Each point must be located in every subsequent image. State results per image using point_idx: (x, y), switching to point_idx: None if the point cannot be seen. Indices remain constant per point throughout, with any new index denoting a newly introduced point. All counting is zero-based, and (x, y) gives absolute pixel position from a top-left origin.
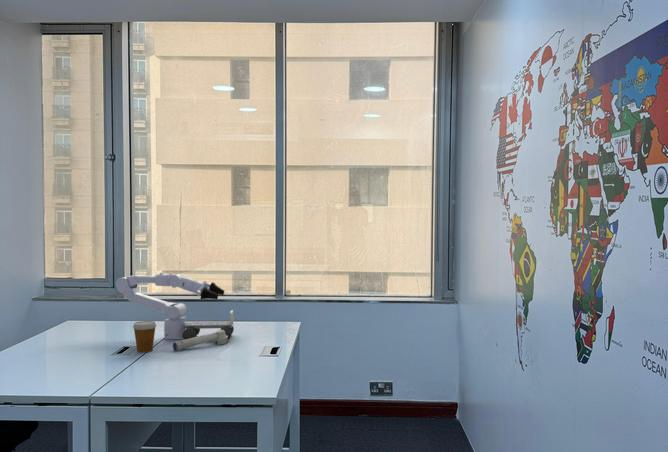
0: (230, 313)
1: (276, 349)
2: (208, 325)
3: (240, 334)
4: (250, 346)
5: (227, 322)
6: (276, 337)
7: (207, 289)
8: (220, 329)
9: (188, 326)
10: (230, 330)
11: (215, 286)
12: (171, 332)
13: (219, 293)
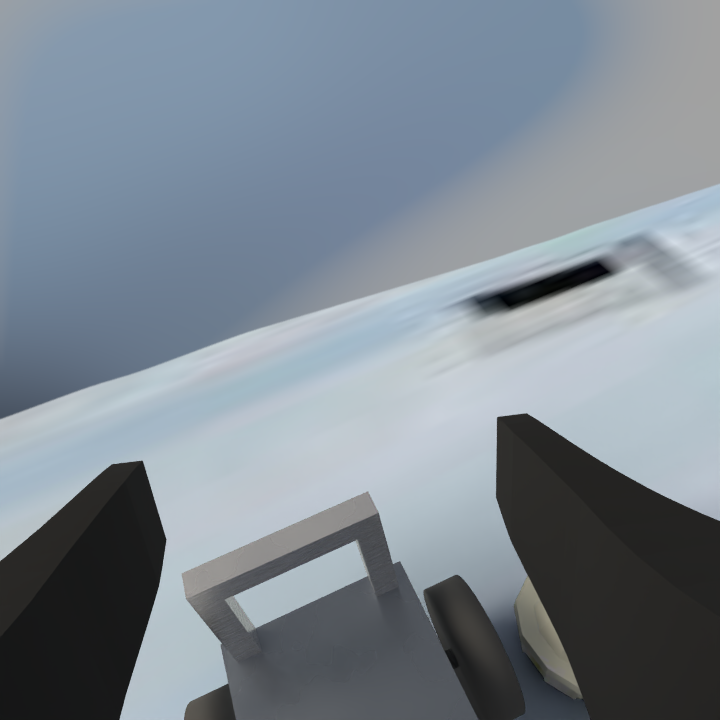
0: (375, 507)
1: (526, 287)
2: None
3: (184, 676)
4: (540, 408)
5: (285, 682)
6: (252, 400)
7: (715, 569)
8: (495, 671)
9: None
10: (429, 588)
11: (9, 636)
12: None
13: (134, 609)
